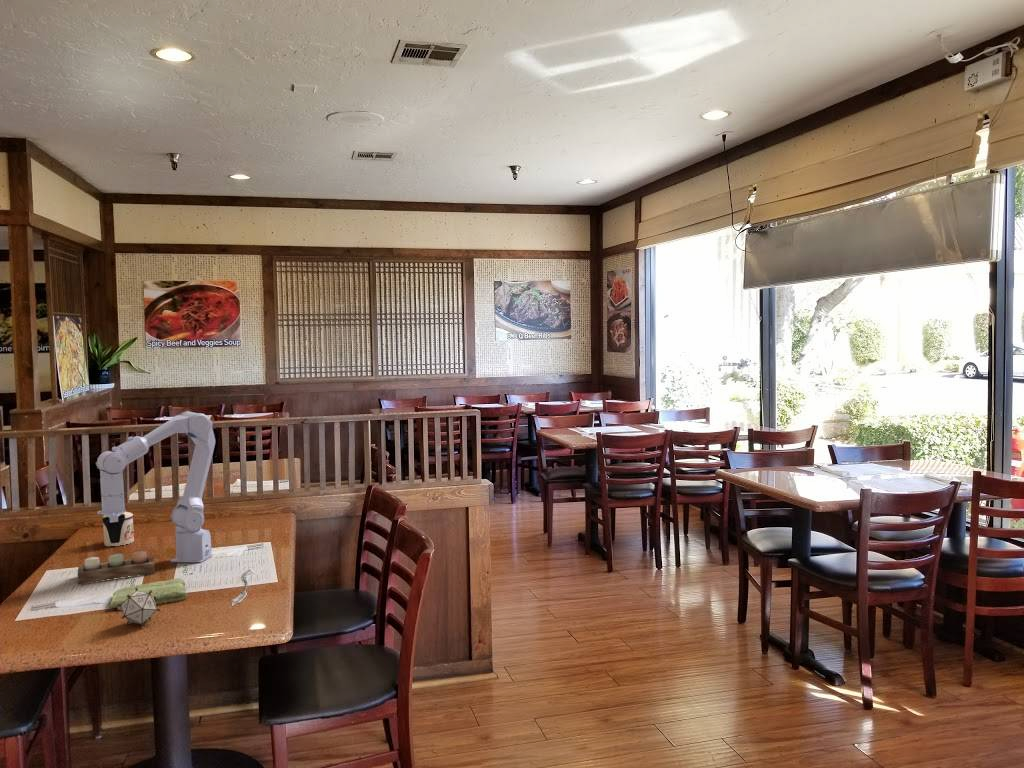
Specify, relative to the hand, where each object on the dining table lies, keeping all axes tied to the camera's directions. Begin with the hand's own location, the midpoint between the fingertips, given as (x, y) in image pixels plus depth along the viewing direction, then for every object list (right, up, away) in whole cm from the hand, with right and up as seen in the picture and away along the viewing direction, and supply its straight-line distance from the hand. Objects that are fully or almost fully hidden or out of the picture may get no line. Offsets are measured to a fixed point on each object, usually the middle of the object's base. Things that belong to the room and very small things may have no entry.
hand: (115, 542), depth 222 cm
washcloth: (+18, -11, -19) cm, 29 cm away
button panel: (0, -9, +1) cm, 9 cm away
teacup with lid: (-16, -7, +35) cm, 39 cm away
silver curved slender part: (+39, -10, -11) cm, 42 cm away
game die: (+24, -12, -36) cm, 45 cm away
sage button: (0, -6, 0) cm, 6 cm away
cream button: (-5, -7, -2) cm, 9 cm away
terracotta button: (+5, -6, +3) cm, 9 cm away
